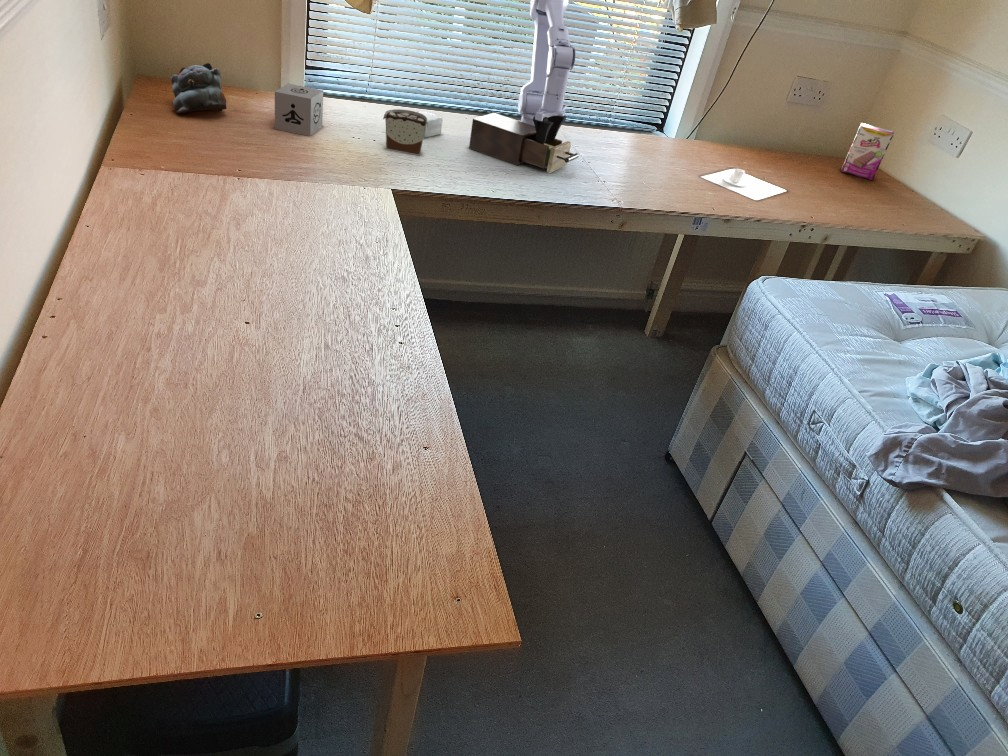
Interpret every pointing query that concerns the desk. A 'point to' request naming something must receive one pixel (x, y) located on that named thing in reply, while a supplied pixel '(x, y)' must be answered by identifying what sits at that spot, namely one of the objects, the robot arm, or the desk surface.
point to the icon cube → (298, 109)
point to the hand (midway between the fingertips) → (545, 142)
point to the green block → (548, 152)
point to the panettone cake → (405, 130)
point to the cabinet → (499, 137)
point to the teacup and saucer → (744, 184)
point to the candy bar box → (867, 151)
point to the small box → (432, 124)
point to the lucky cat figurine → (198, 89)
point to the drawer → (546, 153)
